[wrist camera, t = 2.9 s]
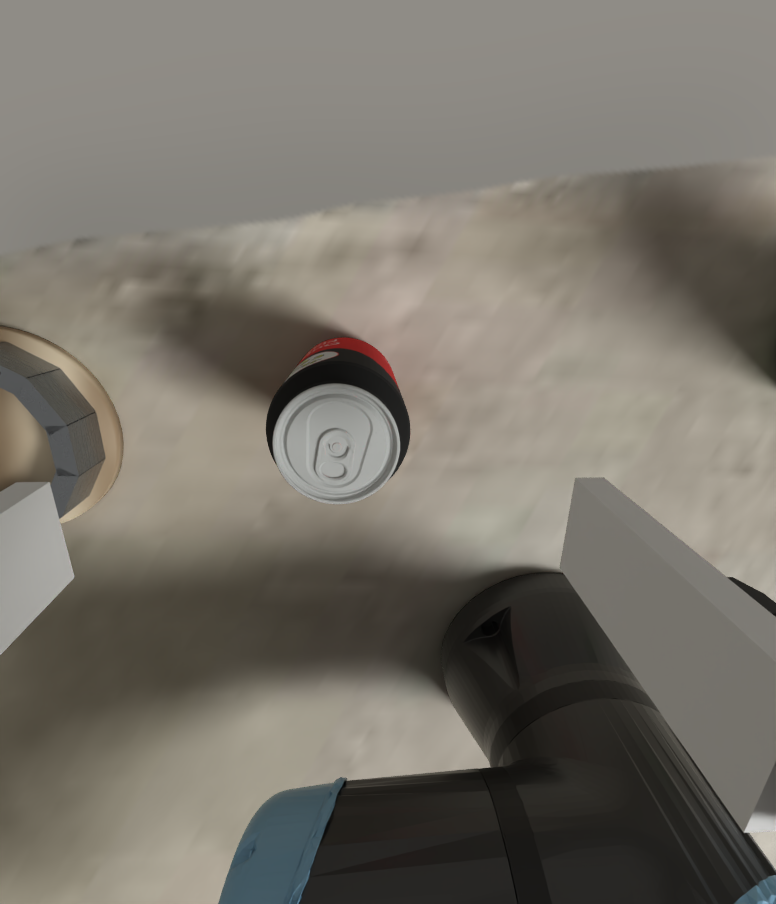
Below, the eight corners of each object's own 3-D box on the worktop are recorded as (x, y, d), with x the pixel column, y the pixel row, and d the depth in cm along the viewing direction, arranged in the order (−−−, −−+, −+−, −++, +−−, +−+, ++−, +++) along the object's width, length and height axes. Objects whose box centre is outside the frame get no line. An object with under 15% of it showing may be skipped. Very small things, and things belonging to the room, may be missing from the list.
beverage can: (402, 344, 29) (429, 383, 18) (385, 438, 31) (399, 526, 20) (302, 327, 28) (264, 355, 17) (291, 424, 30) (250, 506, 19)
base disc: (102, 327, 28) (93, 328, 27) (138, 519, 32) (132, 526, 31) (-129, 324, 27) (-146, 325, 26) (-59, 521, 31) (-72, 529, 30)
